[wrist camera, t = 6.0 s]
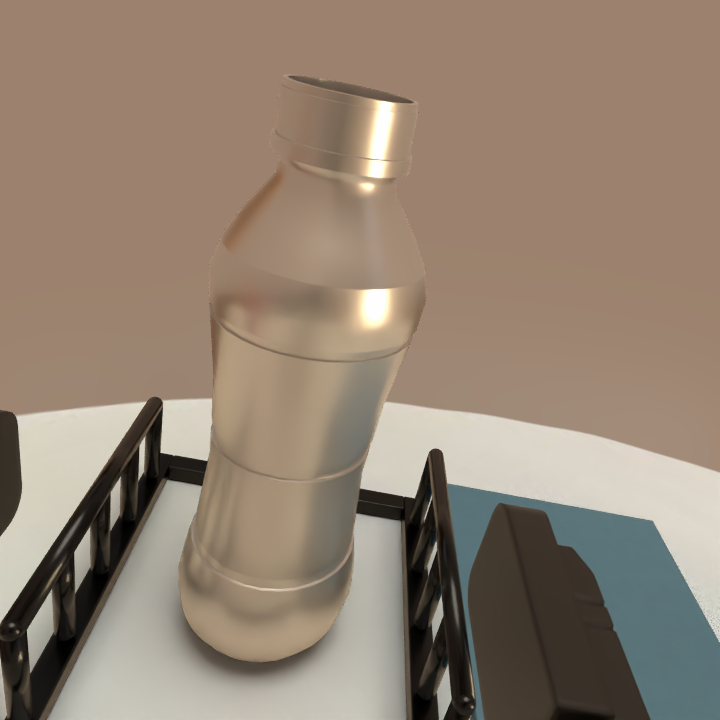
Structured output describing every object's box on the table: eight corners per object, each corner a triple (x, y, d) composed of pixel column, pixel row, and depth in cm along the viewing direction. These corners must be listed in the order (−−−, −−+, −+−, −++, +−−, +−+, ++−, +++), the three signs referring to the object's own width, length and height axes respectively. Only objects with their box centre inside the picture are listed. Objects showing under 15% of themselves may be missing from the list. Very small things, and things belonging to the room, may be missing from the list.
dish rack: (154, 463, 32) (158, 374, 30) (419, 511, 33) (444, 427, 30) (-32, 801, 18) (-53, 684, 15) (443, 871, 19) (495, 770, 16)
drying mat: (442, 491, 35) (445, 482, 34) (648, 528, 35) (652, 520, 35) (500, 966, 17) (507, 956, 17) (912, 1024, 18) (925, 1016, 17)
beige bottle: (153, 579, 26) (182, 50, 17) (298, 537, 29) (387, 85, 20) (207, 718, 21) (289, 95, 12) (370, 647, 25) (527, 129, 16)
